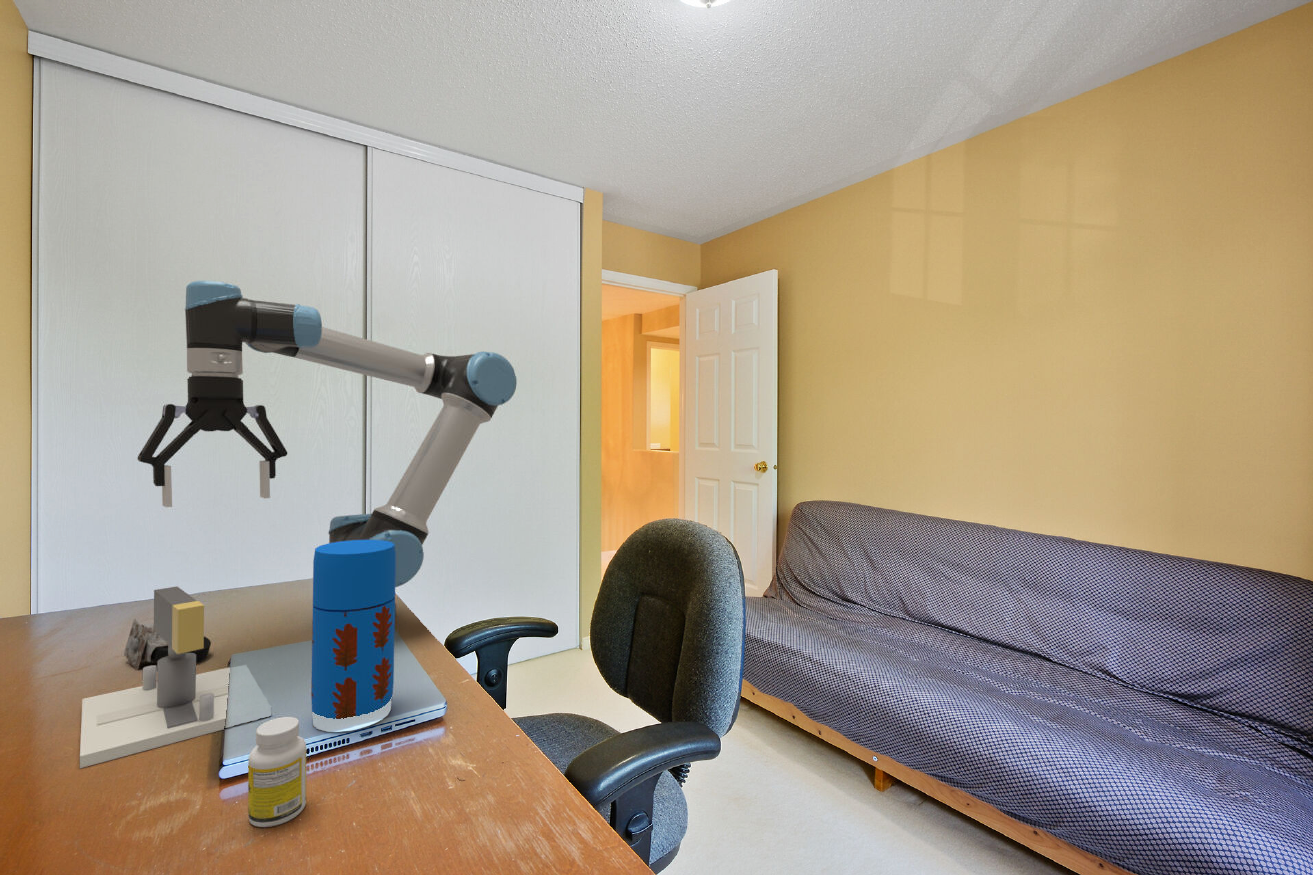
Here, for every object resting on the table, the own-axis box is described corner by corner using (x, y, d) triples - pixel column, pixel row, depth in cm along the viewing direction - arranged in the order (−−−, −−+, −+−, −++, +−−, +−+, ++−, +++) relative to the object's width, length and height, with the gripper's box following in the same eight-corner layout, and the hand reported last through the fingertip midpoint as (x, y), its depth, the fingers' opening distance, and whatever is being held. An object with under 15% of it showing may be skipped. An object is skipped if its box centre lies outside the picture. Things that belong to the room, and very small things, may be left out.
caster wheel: (211, 672, 106) (142, 684, 98) (186, 646, 112) (119, 654, 103) (222, 637, 106) (154, 645, 98) (196, 612, 112) (130, 618, 103)
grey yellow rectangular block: (153, 646, 90) (153, 589, 90) (177, 641, 92) (177, 585, 92) (177, 672, 81) (178, 609, 81) (203, 666, 83) (204, 605, 83)
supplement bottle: (265, 797, 68) (266, 713, 68) (315, 796, 68) (316, 712, 68) (236, 830, 62) (237, 738, 62) (290, 828, 63) (291, 737, 63)
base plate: (245, 672, 101) (246, 625, 101) (271, 716, 86) (272, 661, 86) (82, 708, 87) (82, 654, 87) (79, 768, 72) (80, 703, 72)
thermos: (408, 705, 91) (411, 543, 90) (351, 739, 80) (355, 557, 80) (353, 693, 94) (356, 537, 94) (292, 724, 84) (295, 549, 84)
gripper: (119, 370, 87) (124, 513, 88) (305, 378, 106) (307, 496, 107) (112, 372, 92) (116, 507, 93) (291, 380, 111) (293, 492, 112)
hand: (218, 501), depth 100 cm, fingers open, 13 cm apart
